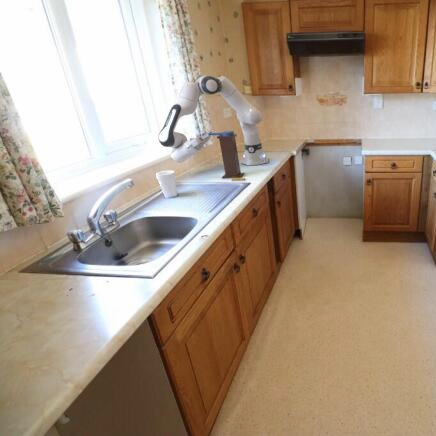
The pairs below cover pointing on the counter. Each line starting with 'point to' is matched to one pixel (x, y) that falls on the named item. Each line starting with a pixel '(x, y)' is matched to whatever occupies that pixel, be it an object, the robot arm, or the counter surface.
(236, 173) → the spoon stand
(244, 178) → the fry
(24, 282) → the counter surface
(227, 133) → the spoon
